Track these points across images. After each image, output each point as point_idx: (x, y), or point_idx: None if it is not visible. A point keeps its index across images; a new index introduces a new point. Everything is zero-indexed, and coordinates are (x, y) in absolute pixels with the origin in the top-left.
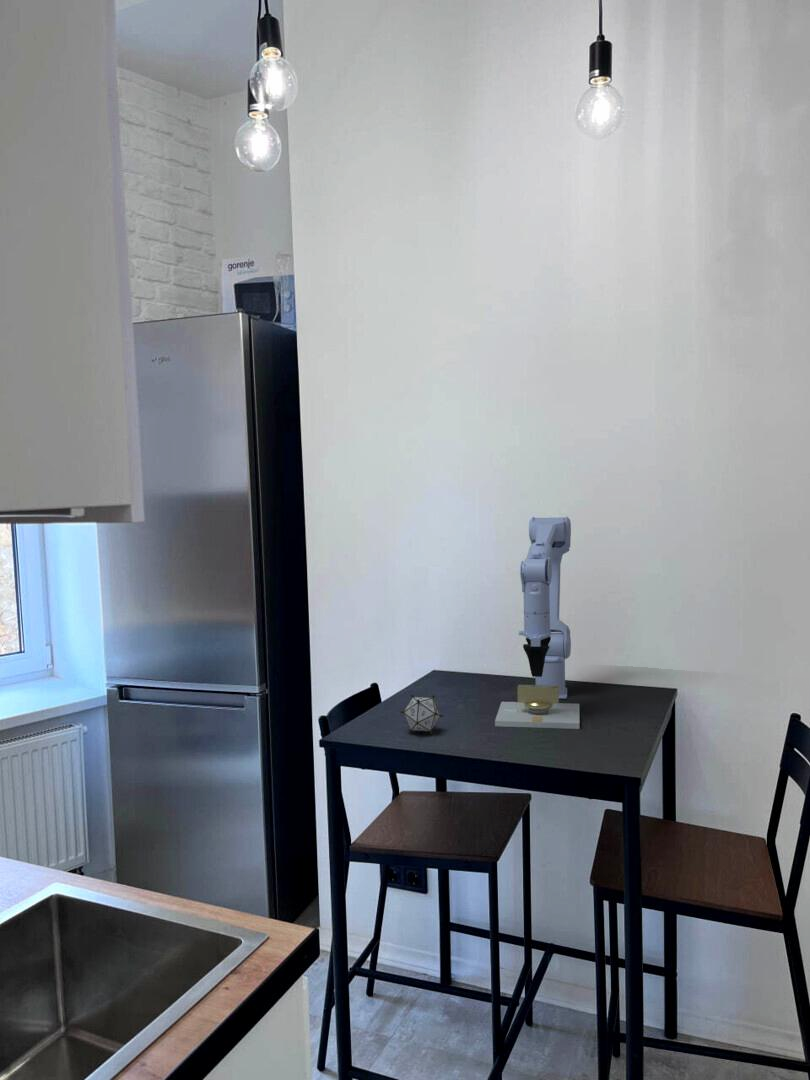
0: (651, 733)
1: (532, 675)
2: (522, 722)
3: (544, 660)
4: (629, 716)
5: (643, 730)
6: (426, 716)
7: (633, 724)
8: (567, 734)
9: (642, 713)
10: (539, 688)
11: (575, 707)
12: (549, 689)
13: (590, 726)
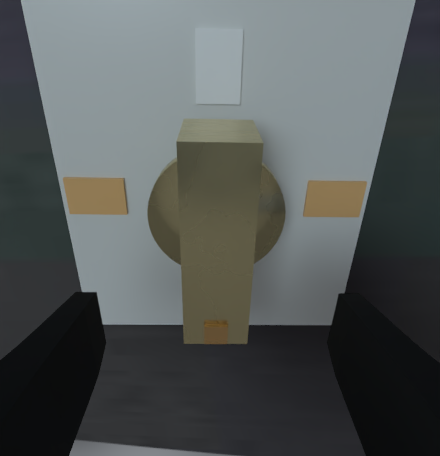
0: (102, 439)
1: (70, 299)
2: (52, 135)
3: (348, 406)
4: (247, 412)
5: (123, 429)
6: None
7: (172, 416)
8: (23, 280)
9: (276, 433)
10: (181, 265)
11: (286, 314)
12: (183, 306)
13: (131, 336)
